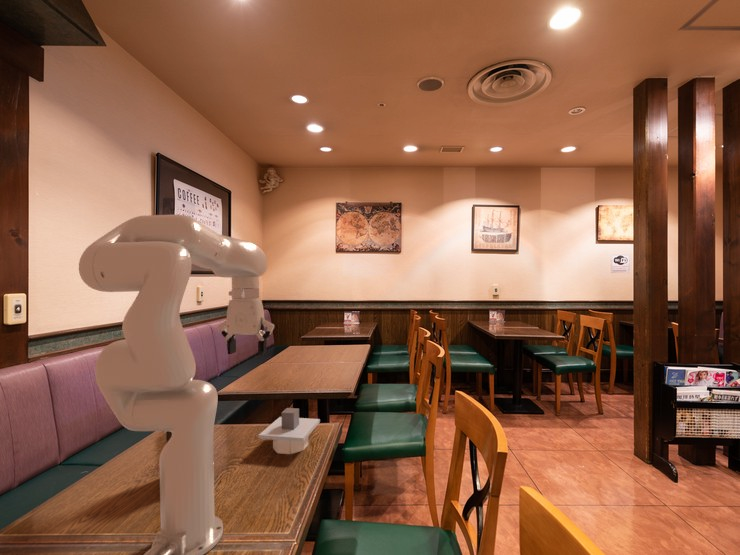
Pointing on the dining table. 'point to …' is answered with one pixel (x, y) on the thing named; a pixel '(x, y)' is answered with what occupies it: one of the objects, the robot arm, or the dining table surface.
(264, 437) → the lid
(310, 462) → the dining table surface
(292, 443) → the bowl
